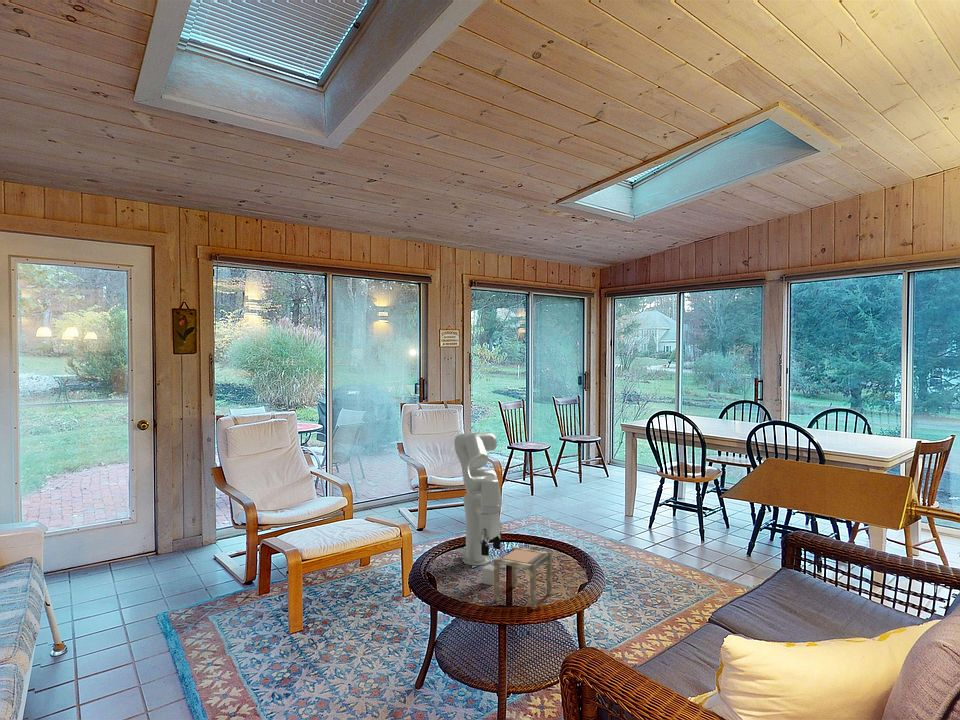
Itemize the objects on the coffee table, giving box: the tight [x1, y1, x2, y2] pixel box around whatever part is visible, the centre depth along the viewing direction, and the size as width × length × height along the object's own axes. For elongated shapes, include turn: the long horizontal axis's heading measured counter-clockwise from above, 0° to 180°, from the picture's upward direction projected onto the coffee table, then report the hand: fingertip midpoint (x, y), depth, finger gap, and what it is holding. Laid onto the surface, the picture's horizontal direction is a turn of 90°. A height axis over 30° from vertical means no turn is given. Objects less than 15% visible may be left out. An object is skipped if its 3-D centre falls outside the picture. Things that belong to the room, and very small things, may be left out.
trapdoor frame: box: [493, 546, 553, 608], centre depth 202 cm, size 17×17×16 cm
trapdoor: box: [501, 549, 544, 565], centre depth 202 cm, size 12×12×1 cm
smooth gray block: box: [481, 564, 494, 586], centre depth 217 cm, size 5×5×6 cm
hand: (491, 552), depth 217 cm, fingers open, 9 cm apart
